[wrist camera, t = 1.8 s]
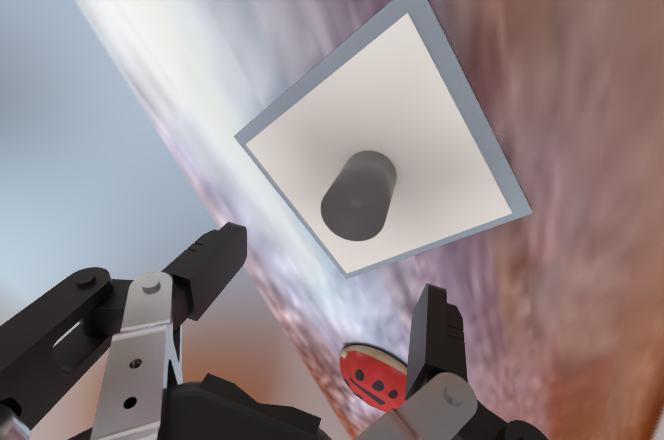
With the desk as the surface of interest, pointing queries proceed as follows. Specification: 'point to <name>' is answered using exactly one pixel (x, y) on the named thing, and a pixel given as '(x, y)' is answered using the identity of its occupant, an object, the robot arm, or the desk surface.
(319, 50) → the desk surface
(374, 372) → the ladybug figurine
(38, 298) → the robot arm
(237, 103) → the desk surface
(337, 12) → the desk surface
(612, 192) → the desk surface
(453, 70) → the mat
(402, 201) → the lid
